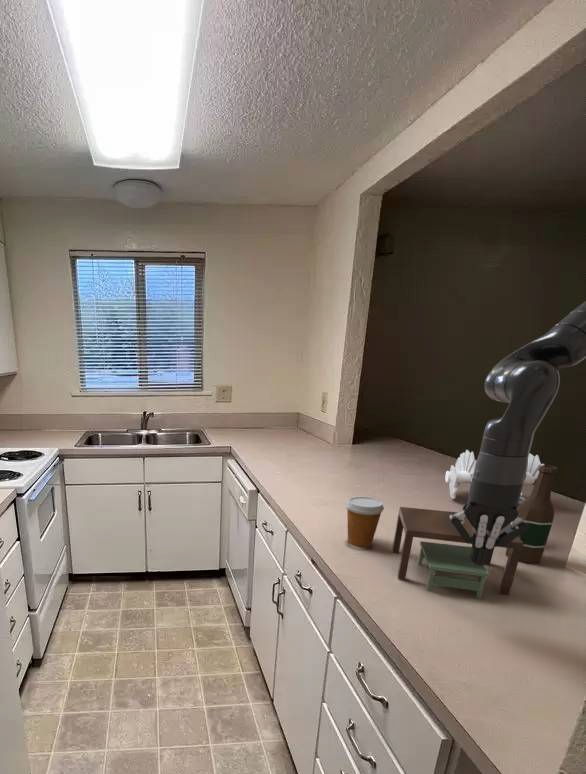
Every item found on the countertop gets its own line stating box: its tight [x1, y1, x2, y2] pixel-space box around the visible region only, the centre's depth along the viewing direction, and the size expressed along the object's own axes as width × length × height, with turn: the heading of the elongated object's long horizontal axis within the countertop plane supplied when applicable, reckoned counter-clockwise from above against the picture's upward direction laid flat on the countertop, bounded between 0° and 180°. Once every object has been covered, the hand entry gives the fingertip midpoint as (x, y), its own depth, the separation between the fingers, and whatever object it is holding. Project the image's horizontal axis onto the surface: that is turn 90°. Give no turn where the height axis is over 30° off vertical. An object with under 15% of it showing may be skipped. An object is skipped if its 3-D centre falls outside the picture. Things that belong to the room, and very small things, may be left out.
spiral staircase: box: [444, 449, 545, 500], centre depth 148 cm, size 18×18×25 cm
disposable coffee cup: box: [345, 496, 385, 548], centre depth 119 cm, size 10×10×12 cm
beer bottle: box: [505, 464, 558, 565], centre depth 107 cm, size 8×8×24 cm
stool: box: [417, 541, 489, 599], centre depth 100 cm, size 11×14×6 cm
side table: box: [391, 506, 524, 596], centre depth 103 cm, size 22×16×12 cm
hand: (477, 563), depth 83 cm, fingers closed
